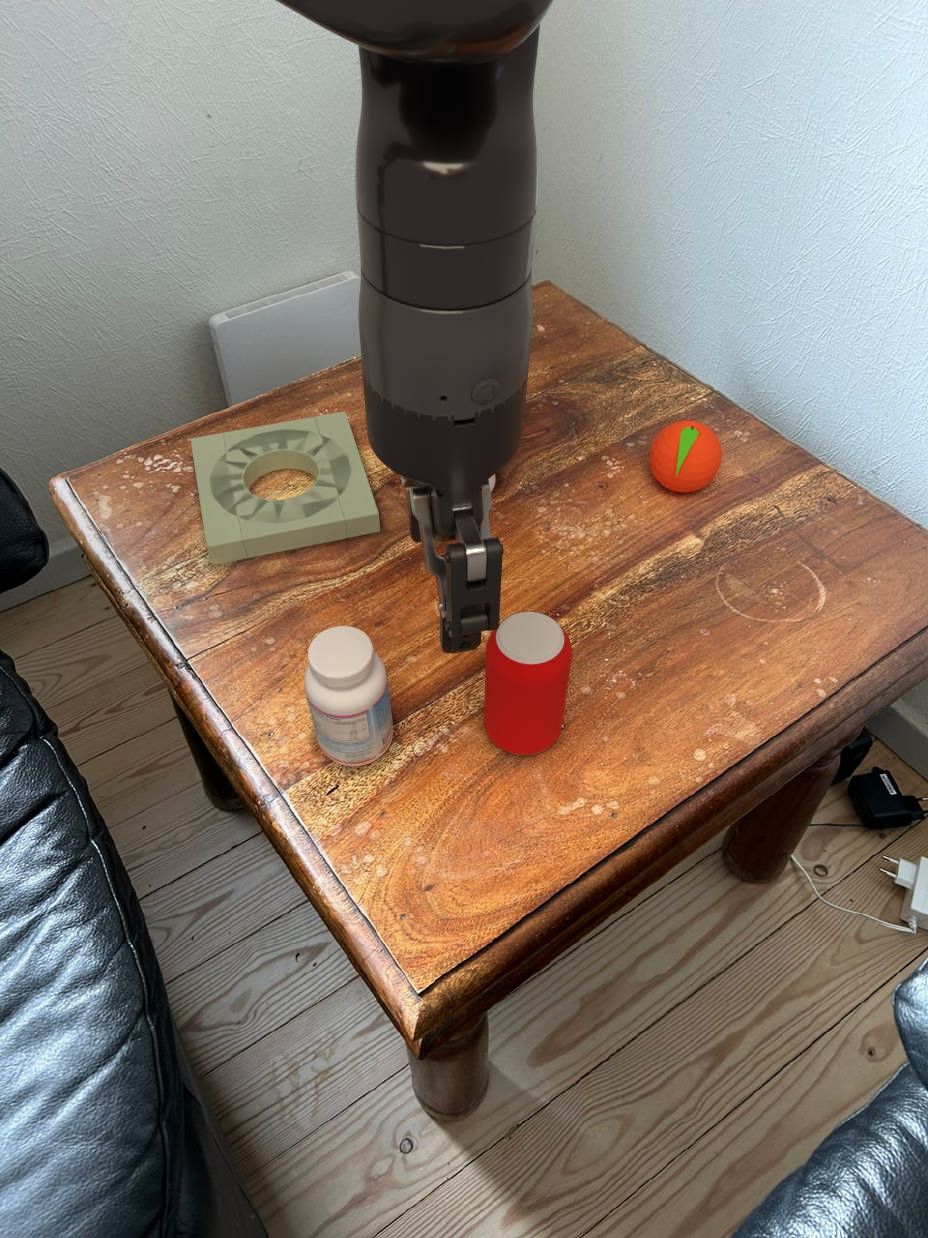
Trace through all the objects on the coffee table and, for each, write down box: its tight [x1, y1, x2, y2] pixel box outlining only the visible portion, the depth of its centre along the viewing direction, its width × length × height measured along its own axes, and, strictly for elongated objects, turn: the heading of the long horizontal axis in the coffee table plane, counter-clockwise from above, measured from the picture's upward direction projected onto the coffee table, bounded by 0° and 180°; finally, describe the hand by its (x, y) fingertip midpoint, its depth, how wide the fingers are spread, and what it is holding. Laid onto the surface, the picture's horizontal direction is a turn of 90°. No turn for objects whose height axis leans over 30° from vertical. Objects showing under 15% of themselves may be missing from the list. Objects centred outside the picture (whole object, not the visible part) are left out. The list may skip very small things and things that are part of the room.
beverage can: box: [483, 610, 573, 756], centre depth 69 cm, size 6×6×12 cm
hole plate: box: [190, 410, 381, 566], centre depth 91 cm, size 16×16×2 cm
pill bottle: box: [303, 625, 394, 767], centre depth 69 cm, size 6×6×11 cm
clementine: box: [648, 420, 723, 493], centre depth 89 cm, size 8×7×7 cm
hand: (443, 589), depth 54 cm, fingers open, 8 cm apart
